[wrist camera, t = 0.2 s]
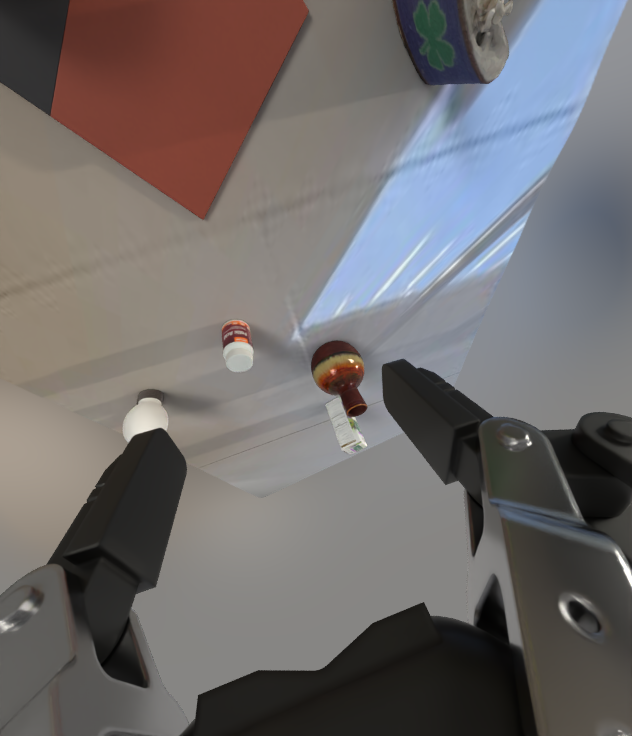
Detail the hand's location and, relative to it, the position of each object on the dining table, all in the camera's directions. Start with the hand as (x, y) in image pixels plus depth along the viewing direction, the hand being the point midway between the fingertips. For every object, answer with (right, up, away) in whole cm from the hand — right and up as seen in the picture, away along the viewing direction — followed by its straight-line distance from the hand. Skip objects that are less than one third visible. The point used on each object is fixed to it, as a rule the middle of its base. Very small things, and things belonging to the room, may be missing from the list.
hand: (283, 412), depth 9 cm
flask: (+11, +34, +14) cm, 39 cm away
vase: (+4, +5, +46) cm, 46 cm away
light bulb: (-31, -3, +39) cm, 50 cm away
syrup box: (+7, -9, +63) cm, 64 cm away
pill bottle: (-13, +9, +34) cm, 37 cm away
